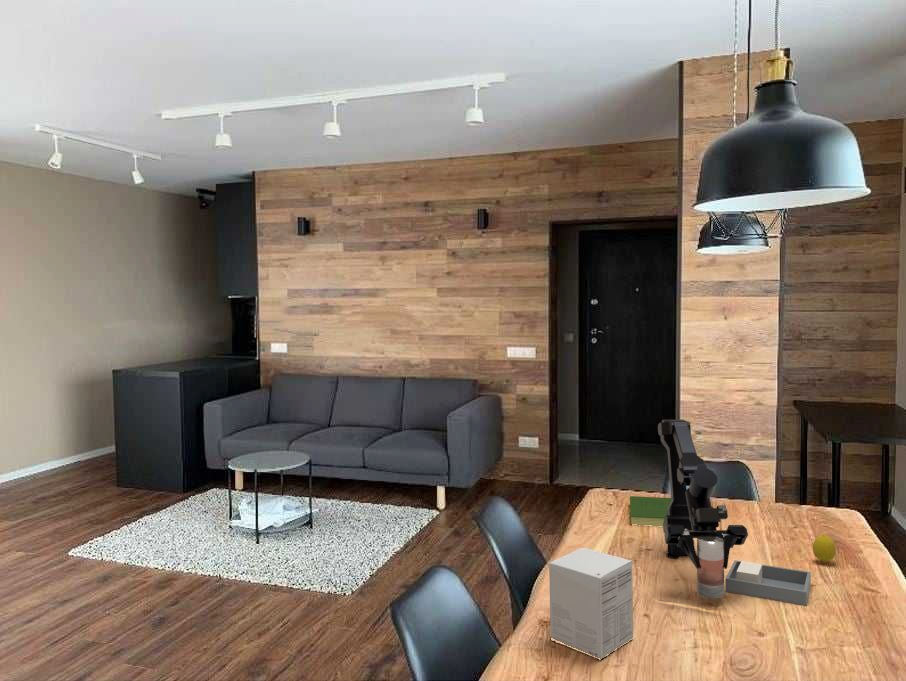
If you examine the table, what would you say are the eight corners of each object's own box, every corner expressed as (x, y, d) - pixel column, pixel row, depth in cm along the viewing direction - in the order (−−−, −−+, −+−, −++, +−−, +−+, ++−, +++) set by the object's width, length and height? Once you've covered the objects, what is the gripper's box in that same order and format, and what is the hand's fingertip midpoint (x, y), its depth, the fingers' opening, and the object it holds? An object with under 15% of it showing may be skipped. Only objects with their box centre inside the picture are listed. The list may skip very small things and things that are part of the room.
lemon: (838, 567, 189) (838, 538, 188) (816, 566, 190) (816, 537, 189) (831, 559, 194) (831, 531, 194) (810, 558, 195) (810, 530, 195)
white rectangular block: (736, 586, 175) (736, 571, 175) (741, 575, 182) (741, 560, 182) (758, 590, 173) (758, 574, 173) (762, 579, 180) (762, 564, 179)
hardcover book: (690, 530, 223) (690, 519, 223) (630, 527, 228) (630, 516, 228) (684, 508, 248) (684, 497, 247) (629, 505, 252) (629, 495, 252)
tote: (725, 594, 173) (725, 578, 173) (734, 575, 185) (734, 560, 185) (806, 608, 164) (806, 592, 164) (810, 587, 176) (810, 572, 176)
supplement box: (635, 639, 151) (634, 560, 150) (601, 662, 142) (599, 578, 141) (584, 620, 160) (582, 546, 160) (548, 641, 151) (547, 561, 150)
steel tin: (694, 595, 166) (694, 541, 165) (699, 585, 171) (699, 534, 170) (721, 600, 163) (721, 545, 162) (726, 590, 168) (726, 537, 167)
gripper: (666, 492, 171) (676, 553, 160) (745, 492, 169) (760, 554, 158) (660, 514, 179) (669, 573, 169) (735, 514, 177) (749, 574, 167)
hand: (711, 568), depth 165 cm, fingers closed on steel tin, 6 cm apart
